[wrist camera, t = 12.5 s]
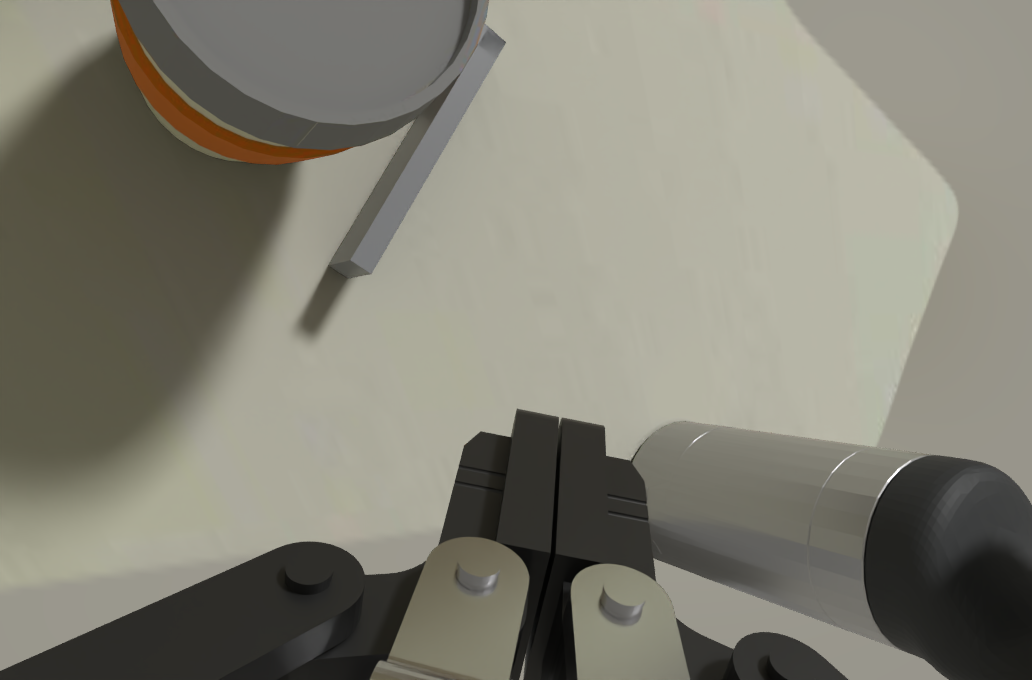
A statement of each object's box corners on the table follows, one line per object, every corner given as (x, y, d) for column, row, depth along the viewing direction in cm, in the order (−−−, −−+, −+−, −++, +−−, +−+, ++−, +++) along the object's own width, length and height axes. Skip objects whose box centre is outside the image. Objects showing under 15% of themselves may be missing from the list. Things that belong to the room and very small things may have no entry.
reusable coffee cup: (278, -100, 40) (388, -307, 27) (402, 134, 44) (552, 49, 30) (24, -14, 35) (11, -221, 22) (187, 245, 38) (259, 199, 25)
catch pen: (347, 278, 42) (371, 274, 39) (-69, 7, 33) (-81, -26, 30) (475, 61, 46) (505, 42, 43) (129, -235, 37) (137, -286, 34)
